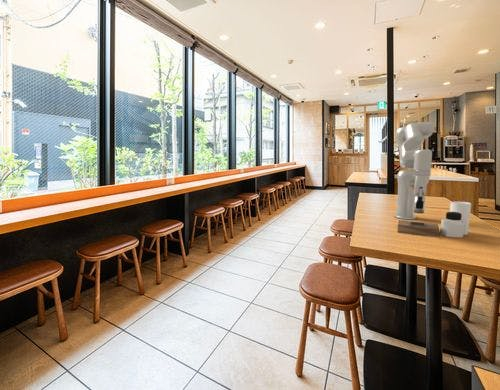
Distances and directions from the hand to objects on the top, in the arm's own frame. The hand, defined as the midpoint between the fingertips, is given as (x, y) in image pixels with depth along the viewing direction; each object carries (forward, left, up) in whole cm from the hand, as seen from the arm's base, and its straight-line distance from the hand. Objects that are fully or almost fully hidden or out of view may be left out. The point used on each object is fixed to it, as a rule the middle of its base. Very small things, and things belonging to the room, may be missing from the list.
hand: (419, 207), depth 134 cm
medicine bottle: (0, +14, -13) cm, 20 cm away
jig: (-1, 0, -13) cm, 13 cm away
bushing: (0, 0, -3) cm, 3 cm away
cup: (-9, +18, -14) cm, 24 cm away
